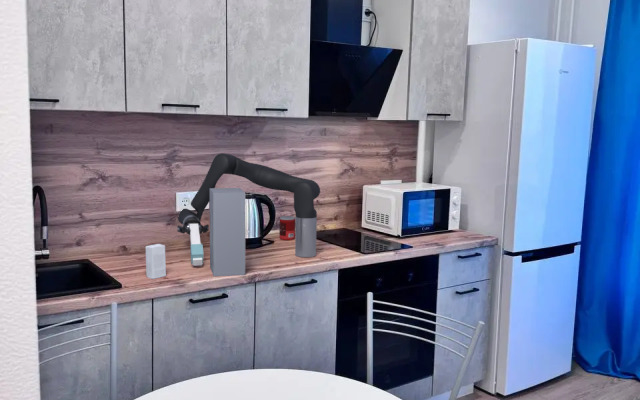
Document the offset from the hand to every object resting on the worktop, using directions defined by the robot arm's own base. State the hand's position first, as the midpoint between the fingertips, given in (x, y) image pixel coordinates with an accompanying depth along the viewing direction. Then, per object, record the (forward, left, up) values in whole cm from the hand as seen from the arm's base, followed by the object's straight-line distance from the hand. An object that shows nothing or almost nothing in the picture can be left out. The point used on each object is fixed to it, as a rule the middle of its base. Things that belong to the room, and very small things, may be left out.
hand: (194, 232), depth 249 cm
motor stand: (+11, +19, -12) cm, 25 cm away
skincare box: (+27, -3, -12) cm, 30 cm away
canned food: (-56, +23, -12) cm, 62 cm away
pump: (+3, +2, -5) cm, 6 cm away
